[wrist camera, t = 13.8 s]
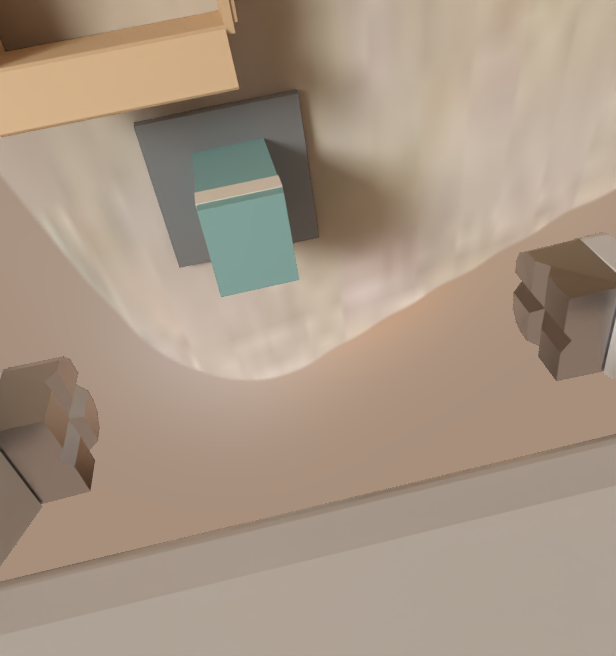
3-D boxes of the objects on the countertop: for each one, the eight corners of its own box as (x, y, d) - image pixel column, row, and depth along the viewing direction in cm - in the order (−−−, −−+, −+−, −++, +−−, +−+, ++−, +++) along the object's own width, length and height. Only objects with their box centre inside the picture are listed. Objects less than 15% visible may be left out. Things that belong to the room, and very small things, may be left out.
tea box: (264, 137, 41) (284, 191, 33) (279, 216, 44) (300, 280, 37) (190, 152, 40) (195, 210, 33) (212, 230, 44) (220, 298, 37)
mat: (296, 89, 40) (298, 93, 39) (317, 232, 47) (319, 237, 46) (134, 122, 39) (133, 126, 38) (179, 262, 46) (179, 267, 45)
